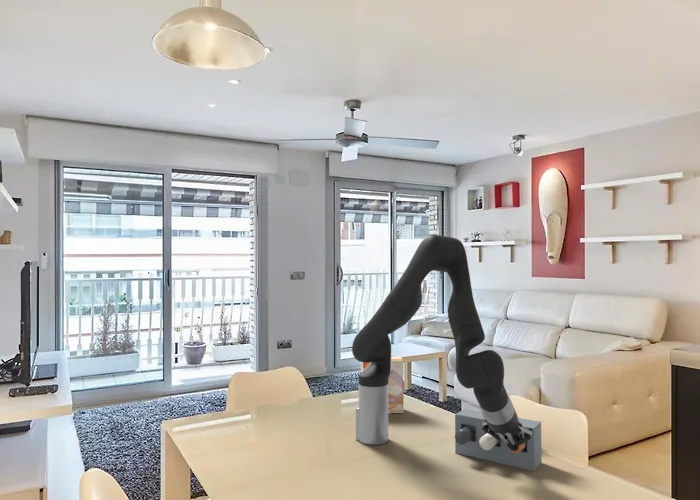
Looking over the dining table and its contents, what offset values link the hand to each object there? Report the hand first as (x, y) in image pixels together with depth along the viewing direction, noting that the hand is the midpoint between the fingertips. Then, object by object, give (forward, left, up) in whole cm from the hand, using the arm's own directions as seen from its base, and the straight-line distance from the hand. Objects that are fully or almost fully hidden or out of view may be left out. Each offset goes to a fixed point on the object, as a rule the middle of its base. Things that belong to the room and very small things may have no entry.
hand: (514, 447), depth 130 cm
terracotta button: (0, +3, -2) cm, 3 cm away
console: (-7, +7, -6) cm, 12 cm away
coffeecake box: (-57, +27, -7) cm, 63 cm away
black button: (-14, +1, -2) cm, 14 cm away
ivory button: (-7, +1, -2) cm, 7 cm away
